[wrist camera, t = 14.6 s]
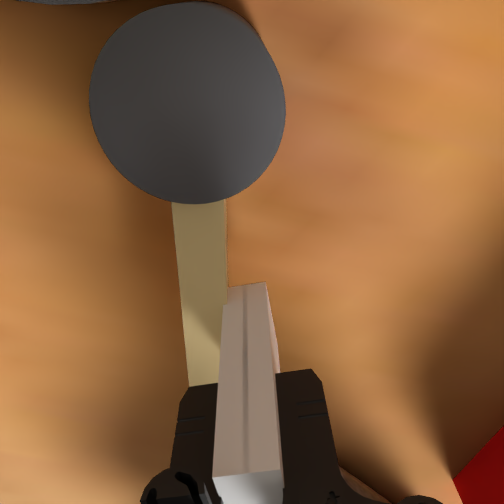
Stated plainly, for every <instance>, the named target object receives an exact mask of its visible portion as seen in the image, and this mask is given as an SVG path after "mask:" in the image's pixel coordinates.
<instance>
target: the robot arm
mask: <svg viewBox="0 0 504 504" xmlns="http://www.w3.org/2000/svg"><path fill="white" fill-rule="evenodd" d="M177 421H178V423H177V425H176V431H175V438H174V444H173V451H172V457H171V464H170V468H169V469H166V470H164V471H162V472H161V473H159V474H158V475H156V476H155V477H153V479H152V480H151V481H150V482H149V484H148V485H147V486H146V487H145V489H144V491H143V494H142V496H141V499H140V502H141V504H389V503H385V502H380V501H376V500H372V499H369V498H366V497H363V496H362V495H360V494H358V493H357V492H355V491H354V490H353V489H352V488H351V487H350V486H349V485H348V484H347V483H346V482H345V480H344V478H343V477H342V475H341V472H340V469H339V465H338V460H337V455H336V450H335V445H334V440H333V435H332V430H331V425H330V420H329V416H328V410H327V405H326V401H325V396H324V391H323V386H322V382H321V380H320V379H319V378H318V377H317V375H316V374H315V373H314V372H313V370H312V369H305V370H298V371H291V372H283V373H280V364H279V354H278V344H277V339H276V333H275V328H274V323H273V318H272V312H271V307H270V302H269V297H268V291H267V286H266V282H260V283H254V284H247V285H241V286H234V287H228V294H227V304H226V305H223V314H222V330H221V346H220V362H219V378H218V383H212V384H204V385H197V386H190V387H189V388H188V390H187V391H186V393H185V395H184V396H183V398H182V400H181V401H180V405H179V411H178V418H177ZM397 504H443V503H441V502H439V501H438V500H436V499H434V498H431V497H426V496H421V495H417V496H410V497H406V498H404V499H403V500H401V501H400V502H398V503H397Z"/></svg>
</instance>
